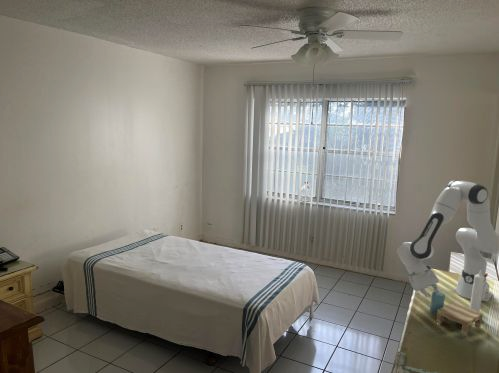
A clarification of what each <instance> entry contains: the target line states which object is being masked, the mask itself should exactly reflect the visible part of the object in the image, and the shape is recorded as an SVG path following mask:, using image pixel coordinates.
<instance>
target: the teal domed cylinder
mask: <svg viewBox="0 0 499 373" xmlns="http://www.w3.org/2000/svg"><path fill="white" fill-rule="evenodd" d="M445 299H446V295H445V293H443V292H440V291H439V292H434V291H432V292H431V300H430V307H429V312H430V313H431V314H433V315H436V314H437V311H438V309H441V308H443V307H445Z"/></svg>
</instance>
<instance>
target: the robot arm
mask: <svg viewBox="0 0 499 373" xmlns="http://www.w3.org/2000/svg"><path fill="white" fill-rule="evenodd" d="M461 202H463V203H464V202H465V203H466V216H467V217H466V218H467V223H468V224H469V225H470V226H471V227H472V228H471V227H461V228H459V229H458V230H457V231H456V233H455V240H456V242H457V243H458V244H459V245H460V247H461V249H462V252H463V257H464V259H463V260H464V262H463V269H462V271H461V276H459V277H458V279H457V280H458V281H457V285H456V287H454V288H453V290H454V291H455V292H456V294H457V295H459V296H460V297H463V298H465V299H468V300H471V296H472V289H473V283H474V276H475V275H477V274H478V273H479V272H480V270H481V273H482V275H483V276H484V277H485V280H484V286H483V293H482V299H481V302H490V300H491V299H492V297H493V295H494V293H493V292H492V291H490V283H488V281H487V277H488V272H487V265H488V262H487V259H486V258H485V257H484V255H482V254H481V252H483V253H486V254H492V255H498V254H499V234H498V233H497V232H496V230H495V229H494V226H493V225H492V221H491V207H490V206H491V203H490V198H489V192H488V189H487V187H485V186H483V185H482V184H479V183H475V182H472V181H465V180H459V179H452V180H451V181H448V183H447V185H446V186H445V188H444V189H443V190H442V191H441V193H440V194H439V195H438V197H437V198H436V200H435V202H434V204H433V207H432V209H431V212H430V216H429V218H428V221H427V223H426V224H425V226H424V227H423V229H422V231H421V233H420V235H419V236H418V237H417V238H416V239H414V240H413V241H412V242H411V241H409V242H408V241H404V242H402V243H401V244H400V245H399V246H398V247H397V249H396V252H397V255H398V257H399V259H400V261H401V262H402V263H403V265H404V266H405V269H406V270H407V272H408V281H409V284H410V285H411V287H412V289H413V291H415V292H418V291H420V293H422V295H424V297H425V298H426V299H427V298H429V297H430V296H431V295H430V292H427V291H426V289H427V288H429V287H432V288H433V292H440V290H439V288H438V286H437V284H438V283H439V282H440V281H439V278H438V277H437V275H436V274H435V272H434V271H433V269H432V266H431V265H430V264H429V265H428V264H424V263H423V261H424V260H428V259H430V258H432V257H433V255H434V254H435V248H434V246H433V245H432V242H433V241H434V239H435V237H436V235H437V234H438V231H440V228H441V227H443V225H445V224H447V223H449V222H450V221H451V220H452V219H453V217H454V216H456V213H457V210H458V208H459V206H460V204H461Z"/></svg>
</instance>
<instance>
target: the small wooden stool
mask: <svg viewBox="0 0 499 373" xmlns="http://www.w3.org/2000/svg"><path fill="white" fill-rule="evenodd" d="M444 318H447V319H448V320H451V321H453V322H456V323H458V324H460V325H462V326H461V332H460V335H461V336H464V337H468V333H469V326H470V325H472V324H474V328H477V329H480V328H481V326H482V320H483V313H482V312H477V311H474V310H472V309H470V307H466V306H463V305H461V304H459V303H456V302H452V303H449V304H447V305H444V307H443V308H441V309H438V311H437V315H436V319H435V324H436V323H438V324H437V325H439V324H441V323H442V324H443V319H444ZM442 324H441V325H442Z"/></svg>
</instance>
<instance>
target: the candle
mask: <svg viewBox="0 0 499 373" xmlns="http://www.w3.org/2000/svg"><path fill="white" fill-rule="evenodd" d="M484 280H485V277H484V276H483V275H482V273H481V270H480V272H479V273H478V274H477V275H475V276H474V283H473V289H472V296H471V299H470V304H469V309H472V310H474V311H477V312H479V313H481V305H482V301H481V299H482V293H483V286H484Z"/></svg>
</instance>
